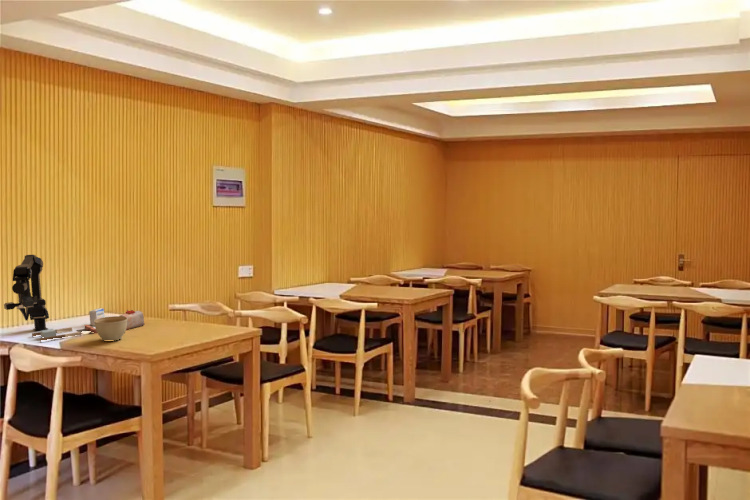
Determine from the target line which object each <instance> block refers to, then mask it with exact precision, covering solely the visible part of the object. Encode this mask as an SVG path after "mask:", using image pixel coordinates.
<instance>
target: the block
mask: <svg viewBox="0 0 750 500" xmlns="http://www.w3.org/2000/svg"><path fill="white" fill-rule="evenodd" d="M39 332H41V336H42V337H44V338H45V337H51V336H57V334H56V329H53V328H51V329H49V328H48V329H47V330H41V331H39ZM41 336H40V337H41Z"/></svg>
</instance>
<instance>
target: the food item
mask: <svg viewBox="0 0 750 500" xmlns="http://www.w3.org/2000/svg"><path fill="white" fill-rule="evenodd" d="M119 316H121V317H127V318H128V320H127V328H126V330H127V331H128V330H131V329H134V328H138V327H139V328H140V327H143V326H145V319H144V313H143V311H140V310H133V309H130V310H128V309H126V311H125V313H124V314H123V313H122V314H119Z"/></svg>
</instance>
